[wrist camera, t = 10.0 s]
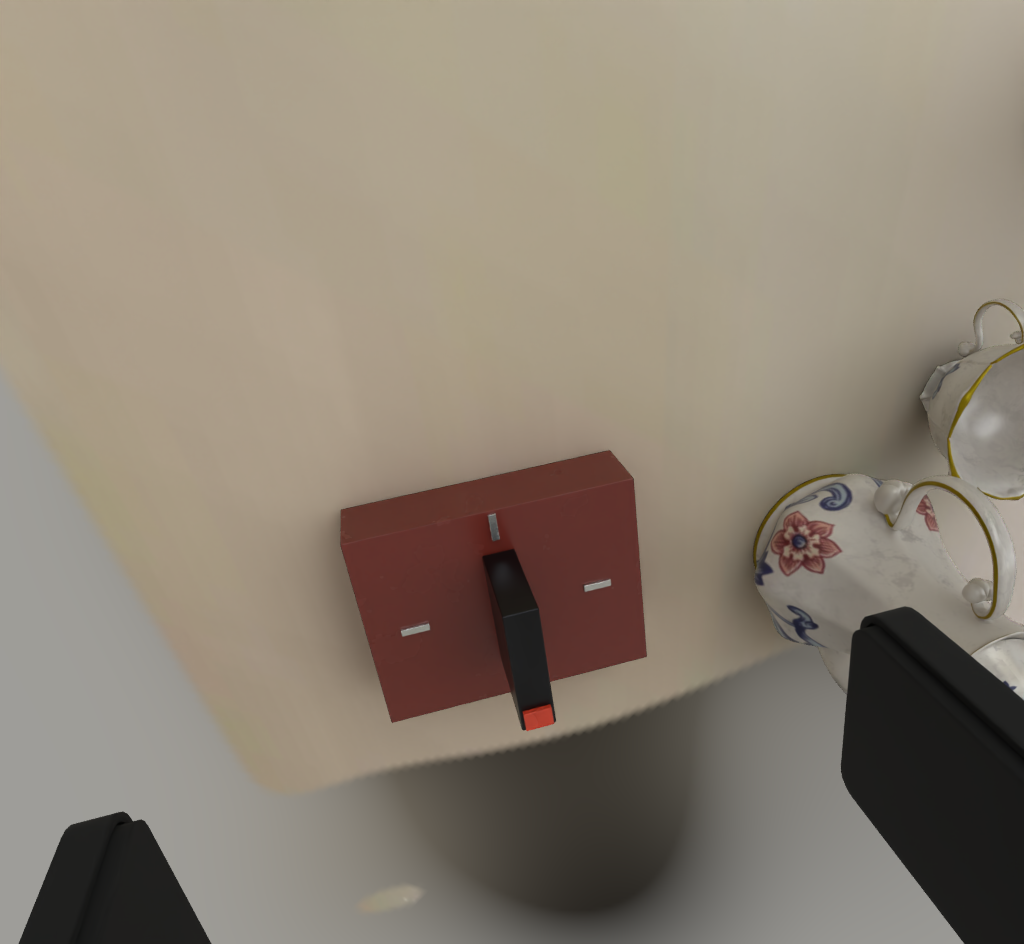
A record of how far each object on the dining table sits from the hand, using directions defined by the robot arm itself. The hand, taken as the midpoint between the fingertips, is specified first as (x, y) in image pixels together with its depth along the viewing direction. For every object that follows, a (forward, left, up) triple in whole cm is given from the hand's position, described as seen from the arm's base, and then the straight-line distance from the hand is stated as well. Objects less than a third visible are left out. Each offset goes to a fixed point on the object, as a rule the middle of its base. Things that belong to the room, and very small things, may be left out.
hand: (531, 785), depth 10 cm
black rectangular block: (-9, +11, -23) cm, 27 cm away
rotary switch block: (-9, +11, -26) cm, 30 cm away
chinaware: (-30, +3, -26) cm, 40 cm away
